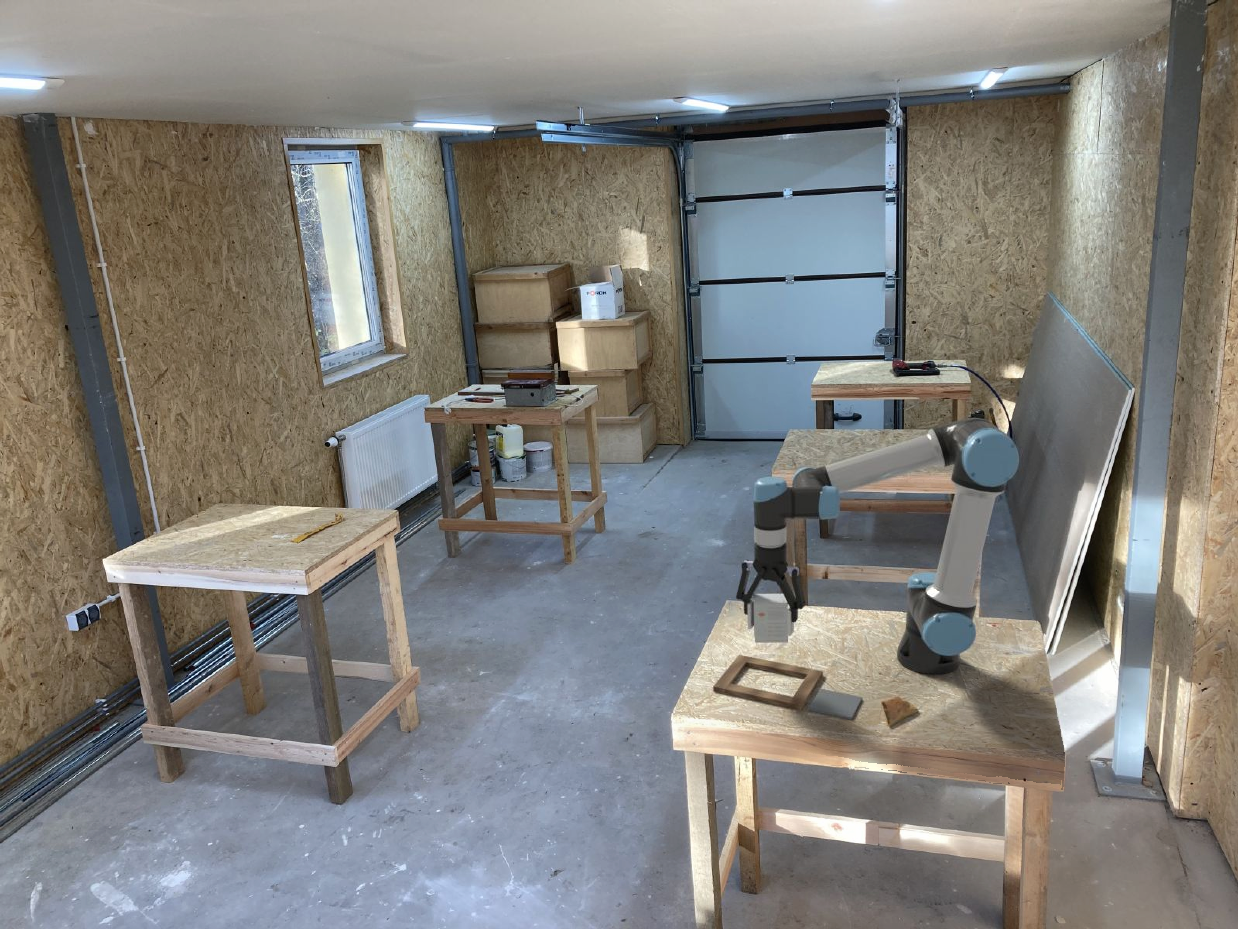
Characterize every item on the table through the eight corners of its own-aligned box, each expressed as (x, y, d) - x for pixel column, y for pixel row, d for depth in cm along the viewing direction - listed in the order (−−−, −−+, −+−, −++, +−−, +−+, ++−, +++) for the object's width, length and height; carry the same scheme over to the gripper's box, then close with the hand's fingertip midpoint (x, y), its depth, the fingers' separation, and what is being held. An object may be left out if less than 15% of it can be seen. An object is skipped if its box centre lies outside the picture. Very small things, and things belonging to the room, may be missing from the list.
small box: (786, 632, 231) (786, 593, 228) (788, 643, 225) (788, 602, 223) (753, 632, 232) (753, 593, 229) (754, 643, 226) (754, 602, 223)
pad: (862, 699, 223) (862, 697, 223) (851, 720, 214) (851, 717, 214) (820, 690, 227) (820, 688, 227) (808, 710, 219) (808, 708, 219)
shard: (888, 730, 211) (888, 723, 210) (861, 716, 217) (861, 709, 217) (919, 714, 217) (919, 707, 216) (892, 700, 223) (892, 694, 222)
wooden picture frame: (822, 675, 235) (822, 671, 234) (801, 710, 219) (801, 705, 219) (739, 659, 244) (739, 654, 244) (713, 690, 229) (713, 686, 229)
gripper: (820, 543, 220) (819, 631, 226) (732, 532, 230) (733, 616, 236) (811, 554, 214) (810, 644, 220) (720, 542, 224) (722, 629, 230)
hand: (770, 630), depth 228 cm, fingers closed on small box, 9 cm apart
